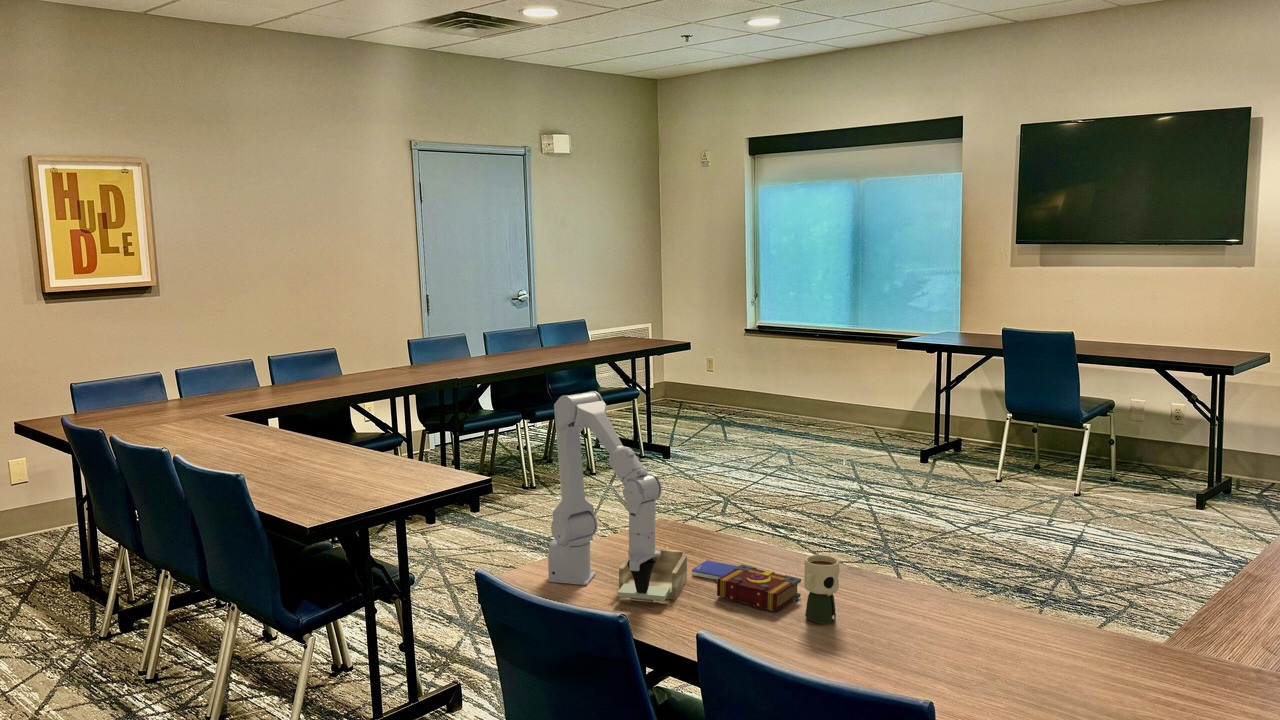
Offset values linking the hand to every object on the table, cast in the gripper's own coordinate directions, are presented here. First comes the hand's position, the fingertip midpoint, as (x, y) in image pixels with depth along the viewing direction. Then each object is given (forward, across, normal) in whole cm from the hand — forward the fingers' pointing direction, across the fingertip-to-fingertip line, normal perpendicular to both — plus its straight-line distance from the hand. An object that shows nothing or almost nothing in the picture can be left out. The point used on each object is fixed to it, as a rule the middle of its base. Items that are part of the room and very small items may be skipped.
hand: (642, 591), depth 212 cm
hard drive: (+3, +22, -14) cm, 26 cm away
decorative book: (+3, +10, -23) cm, 26 cm away
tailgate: (+1, +4, 0) cm, 5 cm away
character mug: (+3, +1, -38) cm, 38 cm away
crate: (+3, +11, 0) cm, 11 cm away
